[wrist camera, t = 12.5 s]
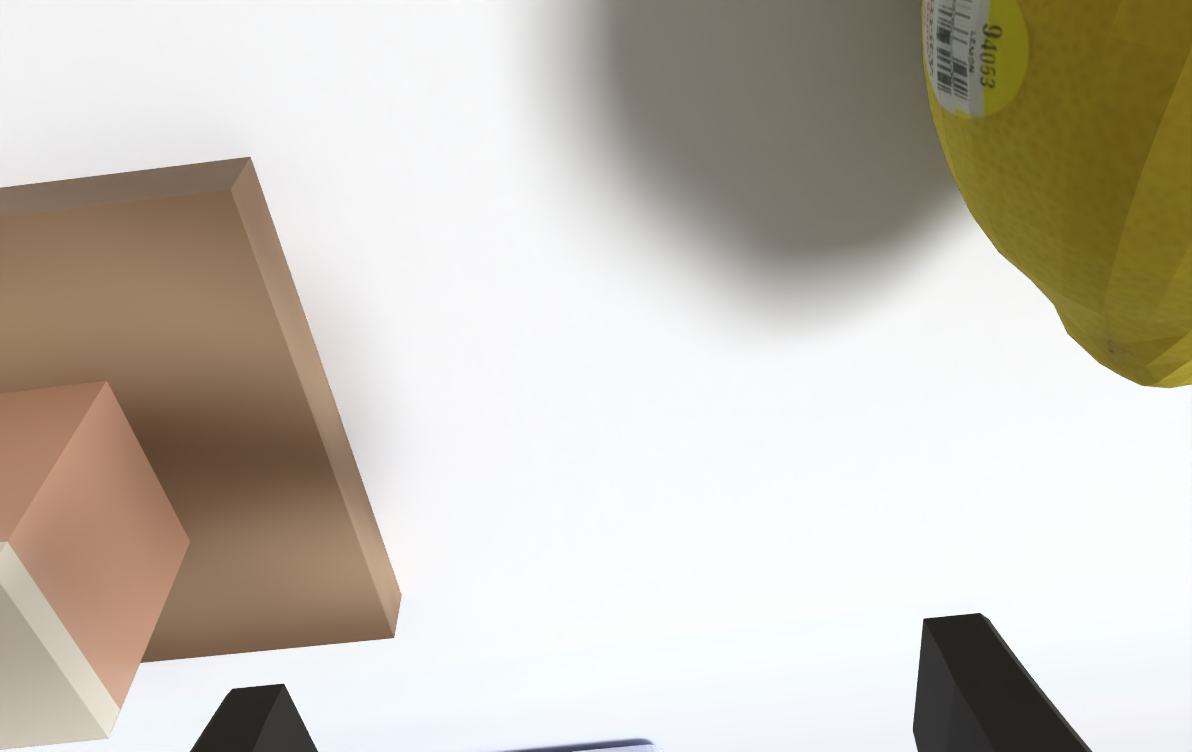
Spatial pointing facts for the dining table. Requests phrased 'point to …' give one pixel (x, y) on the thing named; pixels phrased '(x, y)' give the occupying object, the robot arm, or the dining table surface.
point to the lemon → (1078, 160)
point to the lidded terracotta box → (76, 562)
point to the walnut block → (203, 396)
